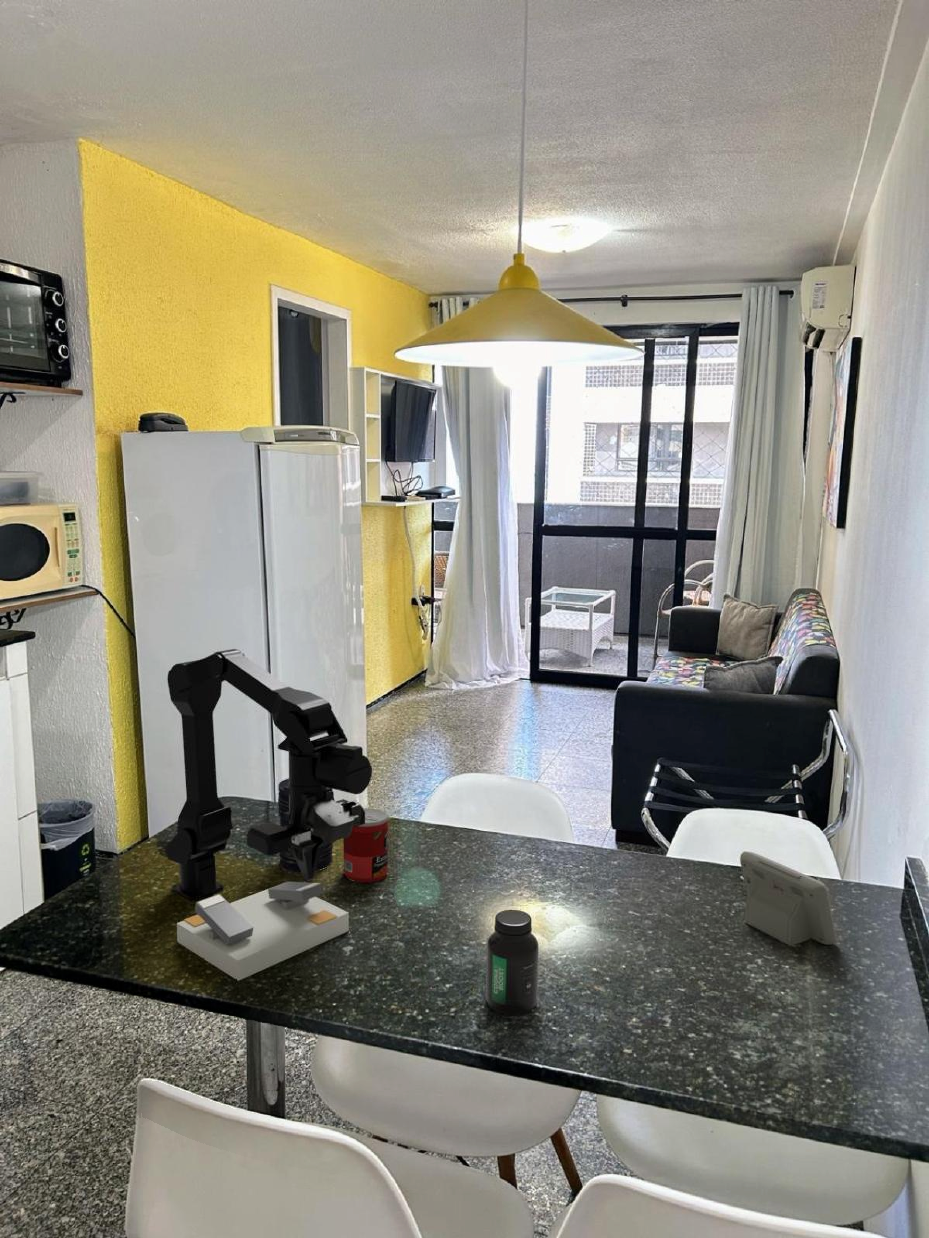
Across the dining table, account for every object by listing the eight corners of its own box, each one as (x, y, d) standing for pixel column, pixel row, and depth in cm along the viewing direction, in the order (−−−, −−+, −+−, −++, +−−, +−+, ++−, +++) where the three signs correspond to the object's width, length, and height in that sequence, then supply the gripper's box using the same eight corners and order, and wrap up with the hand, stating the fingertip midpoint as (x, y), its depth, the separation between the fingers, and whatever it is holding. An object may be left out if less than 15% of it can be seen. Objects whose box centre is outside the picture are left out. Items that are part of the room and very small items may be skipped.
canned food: (381, 885, 155) (381, 824, 154) (337, 880, 157) (336, 820, 156) (393, 867, 163) (393, 809, 161) (351, 863, 164) (351, 806, 163)
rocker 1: (194, 910, 132) (195, 901, 132) (218, 902, 135) (219, 893, 135) (228, 945, 127) (229, 936, 126) (252, 935, 130) (253, 926, 129)
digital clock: (842, 948, 135) (847, 881, 134) (793, 957, 132) (797, 889, 131) (772, 903, 151) (775, 842, 149) (726, 910, 148) (730, 848, 146)
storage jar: (328, 873, 160) (327, 793, 158) (273, 872, 160) (272, 792, 158) (336, 851, 170) (336, 775, 168) (285, 851, 170) (284, 775, 168)
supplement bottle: (499, 1021, 115) (501, 933, 114) (477, 994, 121) (479, 910, 120) (546, 1009, 118) (548, 923, 116) (522, 984, 124) (524, 902, 123)
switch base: (177, 941, 135) (176, 915, 134) (285, 899, 149) (285, 875, 149) (238, 980, 124) (237, 952, 124) (348, 930, 139) (348, 905, 138)
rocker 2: (269, 898, 142) (267, 888, 142) (290, 890, 145) (288, 880, 145) (303, 901, 136) (301, 890, 136) (323, 893, 139) (322, 882, 139)
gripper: (290, 809, 124) (291, 915, 126) (389, 779, 137) (388, 875, 139) (243, 790, 131) (245, 891, 133) (342, 764, 145) (342, 856, 147)
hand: (308, 878), depth 138 cm, fingers closed
